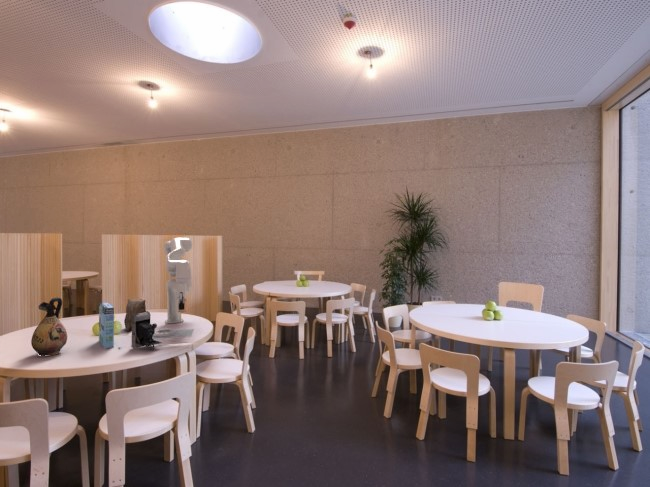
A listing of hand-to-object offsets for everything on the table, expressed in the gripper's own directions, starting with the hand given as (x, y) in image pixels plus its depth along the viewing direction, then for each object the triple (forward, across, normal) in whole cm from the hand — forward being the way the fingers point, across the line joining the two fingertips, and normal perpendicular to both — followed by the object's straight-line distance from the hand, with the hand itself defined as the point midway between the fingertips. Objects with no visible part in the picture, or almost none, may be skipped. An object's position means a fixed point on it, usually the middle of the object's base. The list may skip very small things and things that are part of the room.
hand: (182, 308), depth 232 cm
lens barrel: (+16, 0, -11) cm, 19 cm away
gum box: (+18, +9, -41) cm, 45 cm away
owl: (+18, -24, -35) cm, 46 cm away
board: (+18, 0, -6) cm, 19 cm away
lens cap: (+2, 0, 0) cm, 2 cm away
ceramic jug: (+18, +21, -64) cm, 70 cm away
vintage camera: (+18, +23, -16) cm, 33 cm away
